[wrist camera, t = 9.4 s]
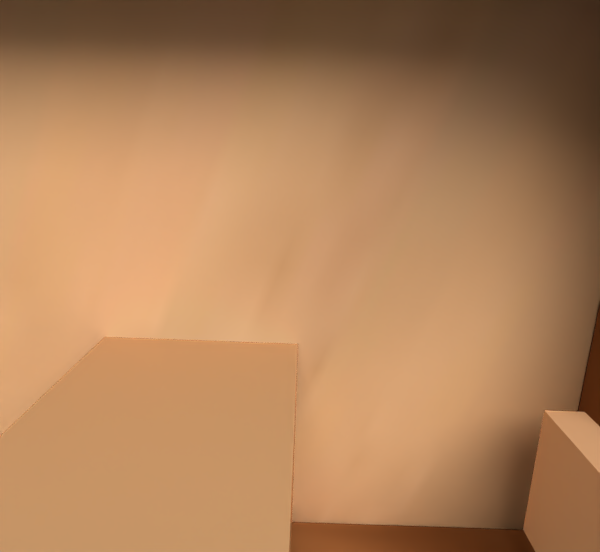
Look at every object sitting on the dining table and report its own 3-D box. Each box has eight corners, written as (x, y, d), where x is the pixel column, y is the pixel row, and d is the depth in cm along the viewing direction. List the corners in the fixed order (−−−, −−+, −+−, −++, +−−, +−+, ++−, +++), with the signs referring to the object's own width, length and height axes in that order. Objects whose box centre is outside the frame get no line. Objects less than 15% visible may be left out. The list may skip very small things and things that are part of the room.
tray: (-270, 531, 11) (-403, 621, 9) (-492, -121, 8) (-778, -216, 6) (582, 560, 11) (647, 656, 9) (728, -87, 8) (883, -173, 6)
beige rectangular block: (117, 499, 11) (-89, 885, 5) (105, 336, 10) (-169, 595, 4) (292, 506, 11) (276, 901, 5) (298, 343, 10) (285, 614, 4)
